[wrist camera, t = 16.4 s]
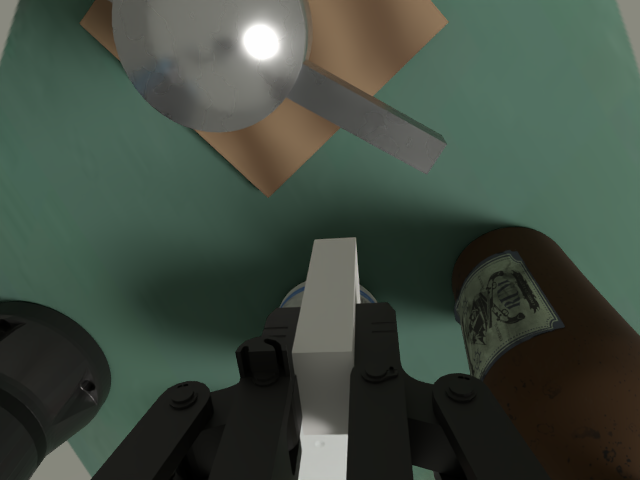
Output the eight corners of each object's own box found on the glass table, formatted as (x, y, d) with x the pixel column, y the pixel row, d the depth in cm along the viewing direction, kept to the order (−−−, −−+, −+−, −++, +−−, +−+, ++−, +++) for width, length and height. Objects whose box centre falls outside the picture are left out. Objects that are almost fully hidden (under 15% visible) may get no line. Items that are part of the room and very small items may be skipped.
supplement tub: (283, 359, 49) (253, 493, 36) (273, 272, 45) (234, 387, 32) (385, 359, 48) (393, 497, 35) (384, 270, 44) (392, 388, 31)
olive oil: (602, 262, 42) (873, 569, 20) (513, 347, 46) (652, 679, 24) (500, 194, 40) (670, 446, 18) (418, 289, 45) (471, 589, 22)
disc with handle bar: (476, 68, 27) (493, 80, 23) (388, 206, 31) (390, 234, 27) (-19, -223, 23) (-89, -262, 20) (-51, -26, 27) (-115, -30, 24)
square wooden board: (271, 191, 42) (246, 243, 33) (89, 22, 37) (4, 30, 28) (445, 21, 35) (471, 29, 27) (251, -209, 31) (205, -290, 22)
